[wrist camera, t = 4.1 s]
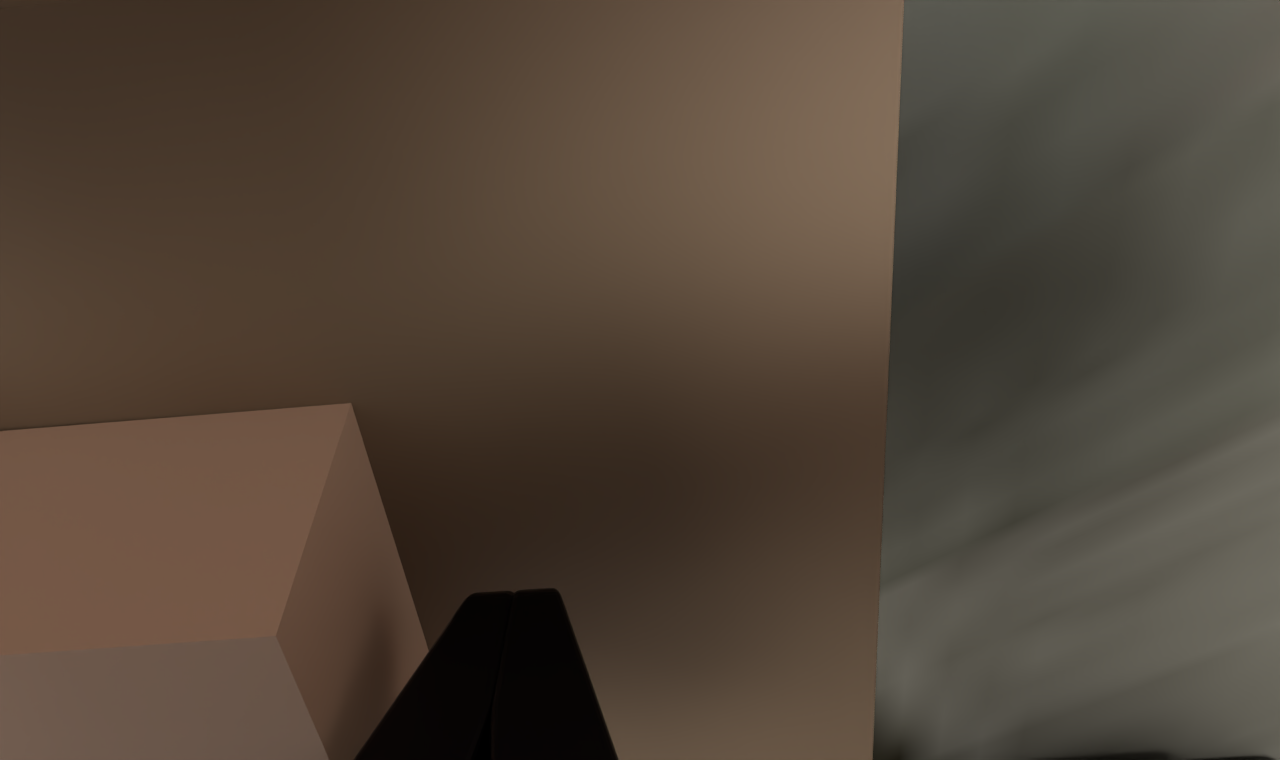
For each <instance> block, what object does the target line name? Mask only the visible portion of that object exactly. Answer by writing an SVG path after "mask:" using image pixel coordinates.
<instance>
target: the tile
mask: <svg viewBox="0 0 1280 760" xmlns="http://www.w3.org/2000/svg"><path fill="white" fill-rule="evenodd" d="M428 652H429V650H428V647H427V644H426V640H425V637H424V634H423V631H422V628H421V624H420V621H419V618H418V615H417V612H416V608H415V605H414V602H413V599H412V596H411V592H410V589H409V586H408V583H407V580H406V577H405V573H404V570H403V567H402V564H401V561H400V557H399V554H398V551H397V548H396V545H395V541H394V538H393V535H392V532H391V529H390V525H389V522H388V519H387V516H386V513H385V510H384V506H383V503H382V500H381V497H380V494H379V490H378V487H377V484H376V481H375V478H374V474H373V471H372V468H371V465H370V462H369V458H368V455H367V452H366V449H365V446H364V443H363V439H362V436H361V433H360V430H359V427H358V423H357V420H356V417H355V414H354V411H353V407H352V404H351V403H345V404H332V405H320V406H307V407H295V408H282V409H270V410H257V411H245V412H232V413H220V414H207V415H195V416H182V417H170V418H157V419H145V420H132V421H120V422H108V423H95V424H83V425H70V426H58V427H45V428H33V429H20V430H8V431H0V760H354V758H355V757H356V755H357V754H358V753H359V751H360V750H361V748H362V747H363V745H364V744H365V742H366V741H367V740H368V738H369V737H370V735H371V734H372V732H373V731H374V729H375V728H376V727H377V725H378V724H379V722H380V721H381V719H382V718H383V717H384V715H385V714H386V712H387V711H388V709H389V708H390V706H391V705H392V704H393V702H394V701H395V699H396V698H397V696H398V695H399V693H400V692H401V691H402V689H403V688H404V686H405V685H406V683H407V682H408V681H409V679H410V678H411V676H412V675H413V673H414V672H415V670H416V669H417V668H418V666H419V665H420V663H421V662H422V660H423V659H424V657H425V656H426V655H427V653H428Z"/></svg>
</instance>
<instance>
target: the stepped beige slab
mask: <svg viewBox="0 0 1280 760" xmlns="http://www.w3.org/2000/svg"><path fill="white" fill-rule="evenodd" d="M903 13H904V0H0V431H8V430H20V429H33V428H45V427H58V426H70V425H83V424H95V423H108V422H120V421H132V420H145V419H157V418H170V417H182V416H195V415H207V414H220V413H232V412H245V411H257V410H270V409H282V408H295V407H307V406H320V405H332V404H345V403H351V404H352V407H353V411H354V414H355V417H356V420H357V423H358V427H359V430H360V433H361V436H362V439H363V443H364V446H365V449H366V452H367V455H368V458H369V462H370V465H371V468H372V471H373V474H374V478H375V481H376V484H377V487H378V490H379V494H380V497H381V500H382V503H383V506H384V510H385V513H386V516H387V519H388V522H389V525H390V529H391V532H392V535H393V538H394V541H395V545H396V548H397V551H398V554H399V557H400V561H401V564H402V567H403V570H404V573H405V577H406V580H407V583H408V586H409V589H410V592H411V596H412V599H413V602H414V605H415V608H416V612H417V615H418V618H419V621H420V624H421V628H422V631H423V634H424V637H425V640H426V644H427V647H428V650H430V649H431V647H432V646H433V645H434V643H435V642H436V640H437V639H438V637H439V636H440V634H441V633H442V632H443V630H444V629H445V627H446V626H447V624H448V623H449V621H450V620H451V619H452V617H453V616H454V614H455V613H456V611H457V610H458V608H459V607H460V606H461V604H462V603H463V601H464V600H465V599H466V598H467V597H468V596H469V595H471V594H473V593H477V592H493V591H512V592H514V593H515V592H516V591H518V590H526V589H543V588H555V589H557V590H558V591H559V592H560V594H561V596H562V599H563V602H564V605H565V607H566V610H567V613H568V616H569V619H570V622H571V625H572V627H573V630H574V633H575V636H576V639H577V642H578V645H579V647H580V650H581V653H582V656H583V659H584V662H585V665H586V667H587V670H588V673H589V676H590V679H591V682H592V685H593V687H594V690H595V693H596V696H597V699H598V702H599V705H600V707H601V710H602V713H603V716H604V719H605V722H606V725H607V727H608V730H609V733H610V736H611V739H612V742H613V745H614V747H615V750H616V753H617V756H618V759H619V760H873V735H874V711H875V687H876V663H877V639H878V615H879V591H880V567H881V543H882V519H883V495H884V471H885V446H886V422H887V398H888V374H889V350H890V326H891V302H892V278H893V254H894V230H895V206H896V181H897V157H898V133H899V109H900V85H901V61H902V37H903Z"/></svg>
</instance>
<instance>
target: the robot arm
mask: <svg viewBox="0 0 1280 760" xmlns="http://www.w3.org/2000/svg"><path fill="white" fill-rule="evenodd" d="M354 760H619V759H618V756H617V753H616V750H615V747H614V745H613V742H612V739H611V736H610V733H609V730H608V727H607V725H606V722H605V719H604V716H603V713H602V710H601V707H600V705H599V702H598V699H597V696H596V693H595V690H594V687H593V685H592V682H591V679H590V676H589V673H588V670H587V667H586V665H585V662H584V659H583V656H582V653H581V650H580V647H579V645H578V642H577V639H576V636H575V633H574V630H573V627H572V625H571V622H570V619H569V616H568V613H567V610H566V607H565V605H564V602H563V599H562V596H561V594H560V592H559V591H558V590H557V589H555V588H543V589H526V590H518V591H516V592H515V593H514V592H512V591H493V592H477V593H473V594H471V595H469V596H468V597H467V598H466V599H465V600H464V601H463V603H462V604H461V606H460V607H459V608H458V610H457V611H456V613H455V614H454V616H453V617H452V619H451V620H450V621H449V623H448V624H447V626H446V627H445V629H444V630H443V632H442V633H441V634H440V636H439V637H438V639H437V640H436V642H435V643H434V645H433V646H432V647H431V649H430V650H429V652H428V653H427V655H426V656H425V657H424V659H423V660H422V662H421V663H420V665H419V666H418V668H417V669H416V670H415V672H414V673H413V675H412V676H411V678H410V679H409V681H408V682H407V683H406V685H405V686H404V688H403V689H402V691H401V692H400V693H399V695H398V696H397V698H396V699H395V701H394V702H393V704H392V705H391V706H390V708H389V709H388V711H387V712H386V714H385V715H384V717H383V718H382V719H381V721H380V722H379V724H378V725H377V727H376V728H375V729H374V731H373V732H372V734H371V735H370V737H369V738H368V740H367V741H366V742H365V744H364V745H363V747H362V748H361V750H360V751H359V753H358V754H357V755H356V757H355V758H354Z"/></svg>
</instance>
